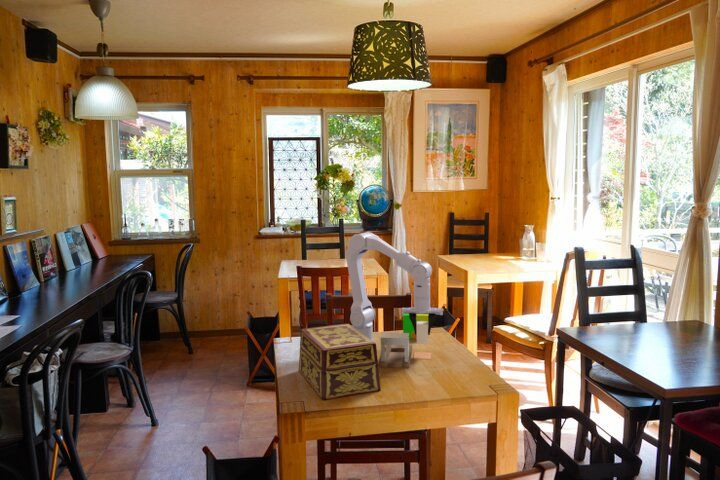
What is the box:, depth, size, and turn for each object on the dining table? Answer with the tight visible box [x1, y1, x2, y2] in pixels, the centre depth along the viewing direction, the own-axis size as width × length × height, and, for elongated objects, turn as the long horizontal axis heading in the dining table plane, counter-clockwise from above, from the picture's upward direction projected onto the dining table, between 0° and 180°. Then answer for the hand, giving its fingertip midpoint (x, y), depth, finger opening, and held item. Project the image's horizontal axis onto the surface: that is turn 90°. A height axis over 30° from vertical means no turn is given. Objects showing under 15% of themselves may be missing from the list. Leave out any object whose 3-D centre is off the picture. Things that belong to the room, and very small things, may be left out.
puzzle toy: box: [402, 314, 430, 340], centre depth 225 cm, size 10×10×10 cm
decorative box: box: [298, 323, 382, 401], centre depth 177 cm, size 28×19×15 cm
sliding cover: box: [380, 332, 410, 362], centre depth 191 cm, size 9×6×8 cm, turn 82°
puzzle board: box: [379, 344, 413, 369], centre depth 197 cm, size 10×20×2 cm, turn 172°
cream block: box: [416, 321, 429, 345], centre depth 198 cm, size 4×4×7 cm
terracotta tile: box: [413, 351, 432, 360], centre depth 199 cm, size 6×7×1 cm
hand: (422, 334), depth 198 cm, fingers closed on cream block, 4 cm apart
